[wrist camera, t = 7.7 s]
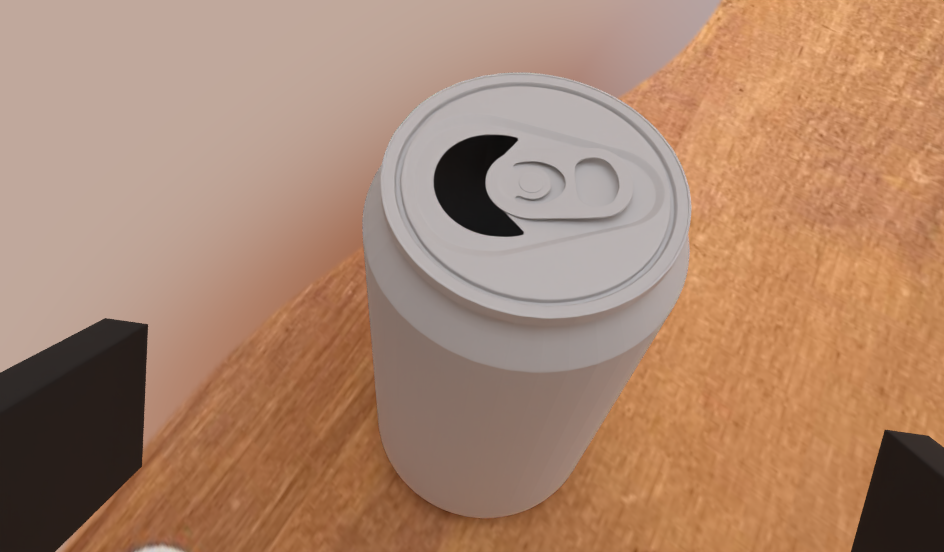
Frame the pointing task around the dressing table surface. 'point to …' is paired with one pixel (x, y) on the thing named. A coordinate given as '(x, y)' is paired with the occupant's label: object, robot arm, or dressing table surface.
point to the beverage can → (515, 282)
